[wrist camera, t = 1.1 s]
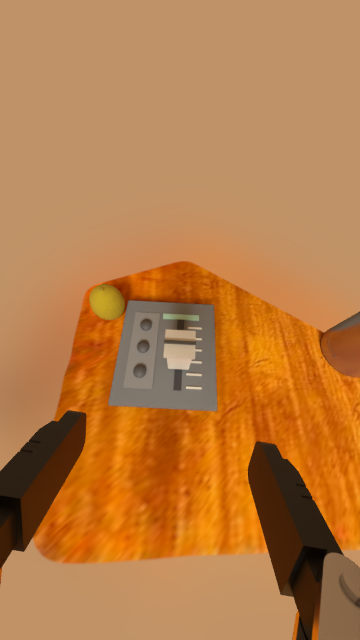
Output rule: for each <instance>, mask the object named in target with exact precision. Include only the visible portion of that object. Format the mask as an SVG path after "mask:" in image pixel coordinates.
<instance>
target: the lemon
mask: <svg viewBox="0 0 360 640" xmlns="http://www.w3.org/2000/svg"><path fill="white" fill-rule="evenodd" d="M89 300H90V305H91V308H92V309H93V311H94V313H95V314H96V315H98V316H99V317H100V318H102V319H105V320H114V319H116V318H118V317H120V316H121V315H122V313H123V312H124V309H125V300H124V297H123V295H122V294H121V292H120V291H119V290H118V289H117V288H115V287H114V286H112V285H109V284H102V285H99V286H97V287H95V288H94V289H93V290H92V292H91V294H90V299H89Z"/></svg>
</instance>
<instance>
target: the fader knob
mask: <svg viewBox="0 0 360 640" xmlns="http://www.w3.org/2000/svg"><path fill="white" fill-rule="evenodd" d="M195 340H196V331H186V330H168V329H166V331H165V340H164V354H163V356H164V358H167V364H168V369H183V370H189V366H190V363H191V359H195V345H196V341H195Z"/></svg>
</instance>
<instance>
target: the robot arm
mask: <svg viewBox="0 0 360 640" xmlns="http://www.w3.org/2000/svg"><path fill="white" fill-rule="evenodd" d="M321 349H322V352H323V355H324V356H325V358H326V360H327V361H328V362H329V363H330V365H331V366H333V367H334V368H335V369H336V370H338V371H339V372H341V373H343V374H345V375H347V376H351V377H360V312H358V313H357V314H355V315H353V316H351V317H350V318H348V319H346V320H344V321H343V322H341V323H339V324H337V325H336V326H334V327H332V328H331V329H329V330H327V331H326V332H325V333H324V334H323V336H322V338H321ZM85 435H86V413H83V412H77V411H70V410H69V411H67V412H66V413H65V414H64V415H63V417H62V418H61V419H60V420H59V421H58V422H57V421H51V422H50V423H48V424H47V425H45V426H43V427H42V428H40V429H39V430H38V431H37V432H36V433H35V434H34V436H33V437H32V438H31V439H30V440H29V442H27V443H26V444H25V445H24V446H23V447H22V448H21V450H20V452H18V453H17V454H16V455H15V456H14V457H13V458H12V459H11V460H10V461H9V462H8V464H7V465H6V466H5V467H4V468H3V469H2V470H1V471H0V583H1V571H2V566H3V564H4V563H5V561H6V560H7V558H8V556H9V555H10V553H11V551H12V550H16V551H22V552H24V551H25V549H26V547H27V546H28V544H29V542H30V541H31V539H32V537H33V535H34V534H35V532H36V530H37V529H38V527H39V525H40V523H41V522H42V520H43V518H44V516H45V515H46V513H47V511H48V510H49V508H50V506H51V504H52V503H53V501H54V499H55V497H56V496H57V494H58V492H59V491H60V489H61V487H62V485H63V484H64V482H65V480H66V478H67V477H68V475H69V473H70V472H71V470H72V468H73V466H74V465H75V463H76V461H77V459H78V458H79V456H80V454H81V452H82V450H83V447H84V443H85ZM248 480H249V484H250V488H251V491H252V495H253V499H254V502H255V506H256V509H257V513H258V516H259V520H260V523H261V527H262V530H263V534H264V537H265V541H266V544H267V548H268V551H269V555H270V558H271V562H272V565H273V569H274V572H275V576H276V580H277V583H278V586H279V590H280V594H281V595H286V596H292V597H294V599H295V603H296V606H297V609H298V612H297V613H296V618H295V624H294V631H293V637H292V640H360V568H359V567H358V566H357V565H356V564H355V563H354V562H353V561H351V560H350V559H349V558H347V557H345V556H344V555H343V553H342V551H341V549H340V548H339V546H338V544H337V542H336V540H335V538H334V536H333V535H332V533H331V531H330V529H329V527H328V525H327V524H326V522H325V520H324V518H323V516H322V514H321V513H320V511H319V509H318V507H317V505H316V503H315V501H314V500H312V496H311V494H310V492H309V490H308V489H307V488H306V485H305V483H304V481H303V479H302V477H301V476H300V474H299V472H298V471H297V470H296V468H295V467H294V466H293V465H292V464H291V463H290V462H289V461H288V459H283V458H282V456H281V454H280V452H279V450H278V448H277V446H276V445H275V444H271V443H265V442H259V441H258V442H256V444H255V447H254V450H253V453H252V457H251V460H250V463H249V466H248Z"/></svg>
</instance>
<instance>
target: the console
mask: <svg viewBox="0 0 360 640" xmlns="http://www.w3.org/2000/svg"><path fill="white" fill-rule="evenodd" d="M166 329H168V330H186V331H196V340H195V341H196V345H195V359H191V363H190V366H189V370H183V369H168V364H167V358H164V356H163V354H164V340H165V331H166ZM108 405H111V406H128V407H146V408H165V409H183V410H202V411H217V389H216V356H215V324H214V305H206V304H187V303H168V302H150V301H131V300H128V304H127V309H126V315H125V320H124V325H123V330H122V336H121V341H120V346H119V351H118V356H117V362H116V367H115V372H114V377H113V382H112V388H111V393H110V398H109V403H108Z"/></svg>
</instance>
